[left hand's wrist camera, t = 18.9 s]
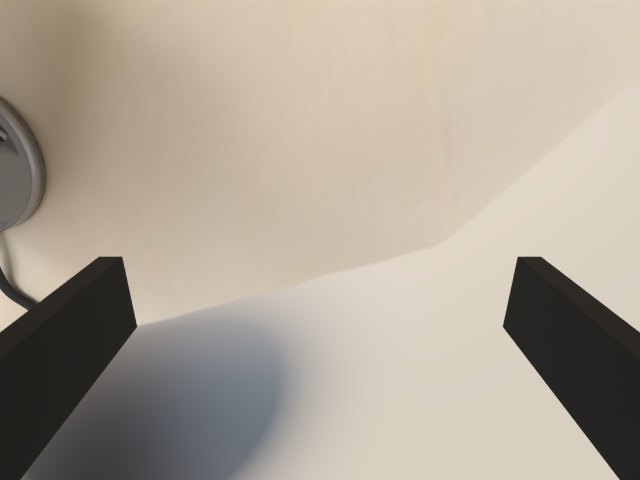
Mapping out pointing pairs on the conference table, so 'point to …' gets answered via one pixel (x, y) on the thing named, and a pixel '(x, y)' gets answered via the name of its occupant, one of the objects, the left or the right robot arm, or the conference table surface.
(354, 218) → the conference table surface
